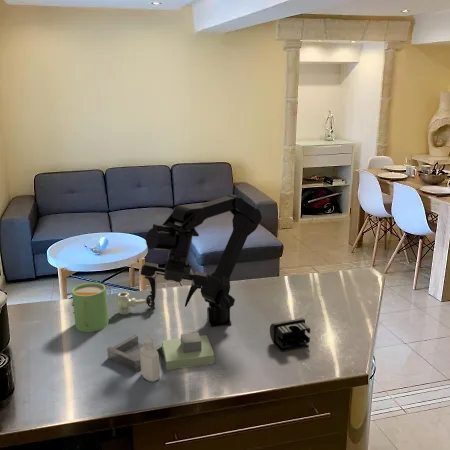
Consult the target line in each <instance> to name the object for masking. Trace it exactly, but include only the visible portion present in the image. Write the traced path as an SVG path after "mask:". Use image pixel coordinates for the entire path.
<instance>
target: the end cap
mask: <svg viewBox="0 0 450 450" xmlns="http://www.w3.org/2000/svg"><path fill="white" fill-rule="evenodd" d="M306 332H307V333H306ZM269 334H270V335H269V336H270V339H271V341H272V343H273V344H274V346H275V347H276V348H277V350H279V352H281V353H283V352H284V353H285V352H289V351H293V350H299V349H303V348H304V349H305V348H309V346H310V344H309V343H310V341H311V337H310V336H309V334H311V328H310V327H309V326H308V325H307V324H306V318H303V317H302V318H301V317H300V318H296V319H290V320H284V321H280V322H274V323H271V324H270V326H269Z"/></svg>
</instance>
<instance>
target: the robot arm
mask: <svg viewBox="0 0 450 450" xmlns="http://www.w3.org/2000/svg"><path fill="white" fill-rule="evenodd" d="M228 212H230V214H231V215H233V217H232V222H231V223H232V232H231V234H230V236H229V239H228V241H227V244H226V246H225V248H224V251H223V253H222V254H221V257H220V259H219V261H218V263H217V266H216V269H215V270H214V272H213V273H211V274H210V275H209V274H208V273H207V272H202V271H196V270H195V272H194V274H193V273H191V270H192V265H189V264H188V261H189V257H190V251H191V247H192V242H193V237H199V236H200V234H199V233H198V231H197V230H196V227H199V226H200V225H202V224H203V223H204V221H205V220H207V219H210V218H212V217H215V216H218V215H221V214H225V213H228ZM262 217H263V216H262V213H261V210H259V208H256V207H254V205H251V204H250V203H248V202H246V201H245V200H244V199H243V198H242V197H241V196H239V195H236V194H227V195H225V196H223V197H219V198H216V199H212V200H210V201H206V202H203V203H200V204H180V205H179V204H178V205H177V206H175V207H174V210H172V212H171V214H170V215H169V216H168V217H167V219H166V220H165V221H164V222H162V223H163V224H162V225H161V224H158V223H153V225H152V228H150V229H149V230H148V232H147V234H146V235H145V244H146V247H147V248H148V249H149V250H157V251H158V250H159V251H163V250H164V251H168V256H167V260H166V262H165V264H164V265H165V267H164V268H162V267H159V264H158V263H154V262H148V261H146V262H145V263H143V264H142V266H141V269H140V275H141V276H144V279H146V280H148V282H149V285H150V289H151V291H152V297H153V301H154V302H155V300H156V295H157V285H158V275H161V276H163V278H164V280H166V281H173V282H175V283H181V282H182V280H186V281H191V285H190V287H189V291H188V293H187V296H186V299H185V302H184V307H187V305H188V304H189V303H190V300H191V298H192V297H193V295H194V294H195V292H196V291H197V290H198V289H200V293H201V297H202V298H203V299H204V302H206V303H208V306H207V307H206V318H207V321H208V323H209V324H210V326H211V327H212V328H213V327H220V326H221V327H222V326H229V325H232V320H231V308H232V307H234V306H235V301H236V299H235V298H234V296H232V295H231V294H229V293H230V290H231V280H230V279H231V276H232V274H233V271H234V269H235V266H236V264H237V262H238V259H239V257H240V255H241V252H242V250H243V248H244V245H245V243H246V242H247V238H248V237H249V236H250V235H251V234H252V233H254V232H255V231H256V230H257V228H258V226H259V225H260V223H261V221H262V219H263V218H262Z"/></svg>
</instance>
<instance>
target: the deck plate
mask: <svg viewBox="0 0 450 450" xmlns="http://www.w3.org/2000/svg"><path fill="white" fill-rule="evenodd" d="M161 346H162V353H163V354H162V355H163V358H164V363H165V367H166V371H169V370H175V369H183V368H190V367H191V368H192V367H198V366H207V365H211V364H216V362H215V361H216V360H215V359H216V358H215V352H214V351H213V348H212V345H211V343H210V340H209V337H208V336H207V335H206V334H205V335H200V333H199V332H189V333H181V334H180V338H174V339H168V340H167V339H166V340H162V341H161Z"/></svg>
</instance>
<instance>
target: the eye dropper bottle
mask: <svg viewBox="0 0 450 450" xmlns="http://www.w3.org/2000/svg"><path fill="white" fill-rule="evenodd" d="M143 345H144V347H142V348H141V349H140V363H141V368H140V374H141V376H142V378H143V379H145V380H147V381H148V382H152V383H153V382H156V381H158V380H159V379H160V378H161V370H160V356H159V354H158V352H157V350H156V349H155V345H154V339H153V338H151V335H150V334H146V338H145V339H144V340H143Z"/></svg>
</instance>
